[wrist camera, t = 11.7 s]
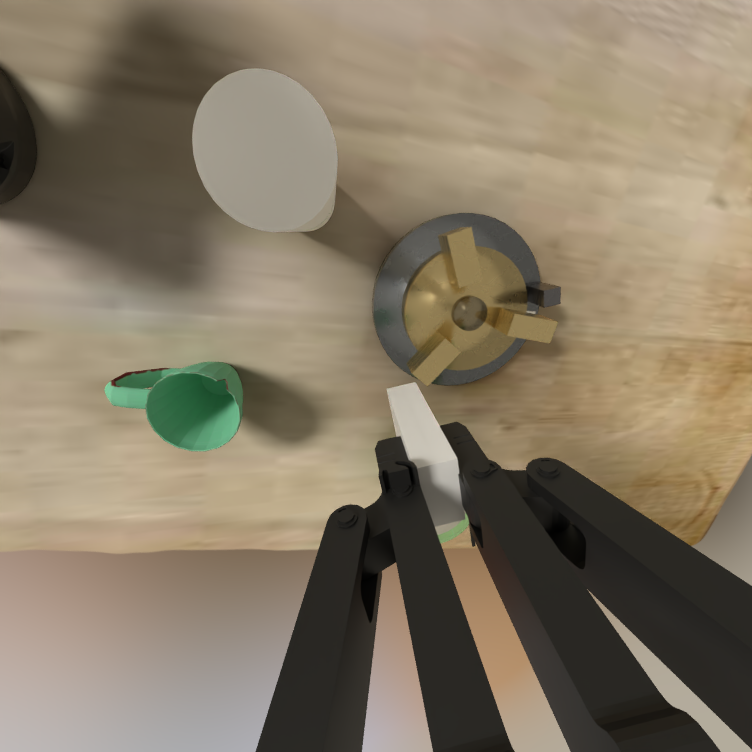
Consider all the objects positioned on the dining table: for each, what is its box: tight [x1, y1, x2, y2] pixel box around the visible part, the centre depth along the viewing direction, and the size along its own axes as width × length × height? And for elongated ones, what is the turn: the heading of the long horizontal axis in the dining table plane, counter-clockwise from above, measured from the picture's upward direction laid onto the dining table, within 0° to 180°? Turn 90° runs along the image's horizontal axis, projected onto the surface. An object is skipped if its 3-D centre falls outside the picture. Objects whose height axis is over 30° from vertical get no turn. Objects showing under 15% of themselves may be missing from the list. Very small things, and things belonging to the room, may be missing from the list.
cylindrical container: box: [192, 68, 338, 232], centre depth 30 cm, size 7×7×25 cm
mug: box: [105, 362, 243, 451], centre depth 43 cm, size 15×10×10 cm
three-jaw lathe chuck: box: [402, 227, 558, 386], centre depth 43 cm, size 17×18×6 cm
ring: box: [372, 213, 560, 385], centre depth 45 cm, size 22×22×7 cm
